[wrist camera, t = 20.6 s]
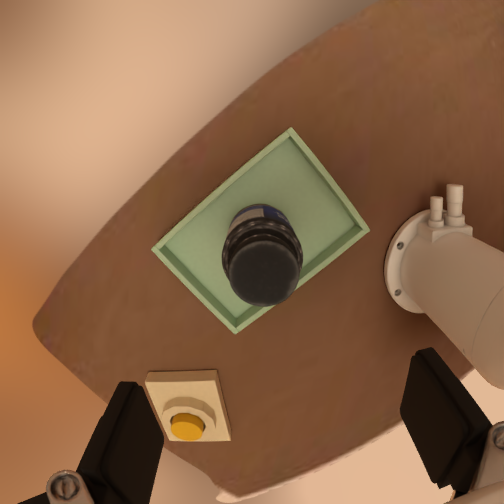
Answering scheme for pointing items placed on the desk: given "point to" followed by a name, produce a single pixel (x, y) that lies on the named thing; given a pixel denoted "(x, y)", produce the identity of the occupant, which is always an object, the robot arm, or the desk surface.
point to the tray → (276, 195)
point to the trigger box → (190, 401)
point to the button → (187, 426)
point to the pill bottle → (262, 256)
